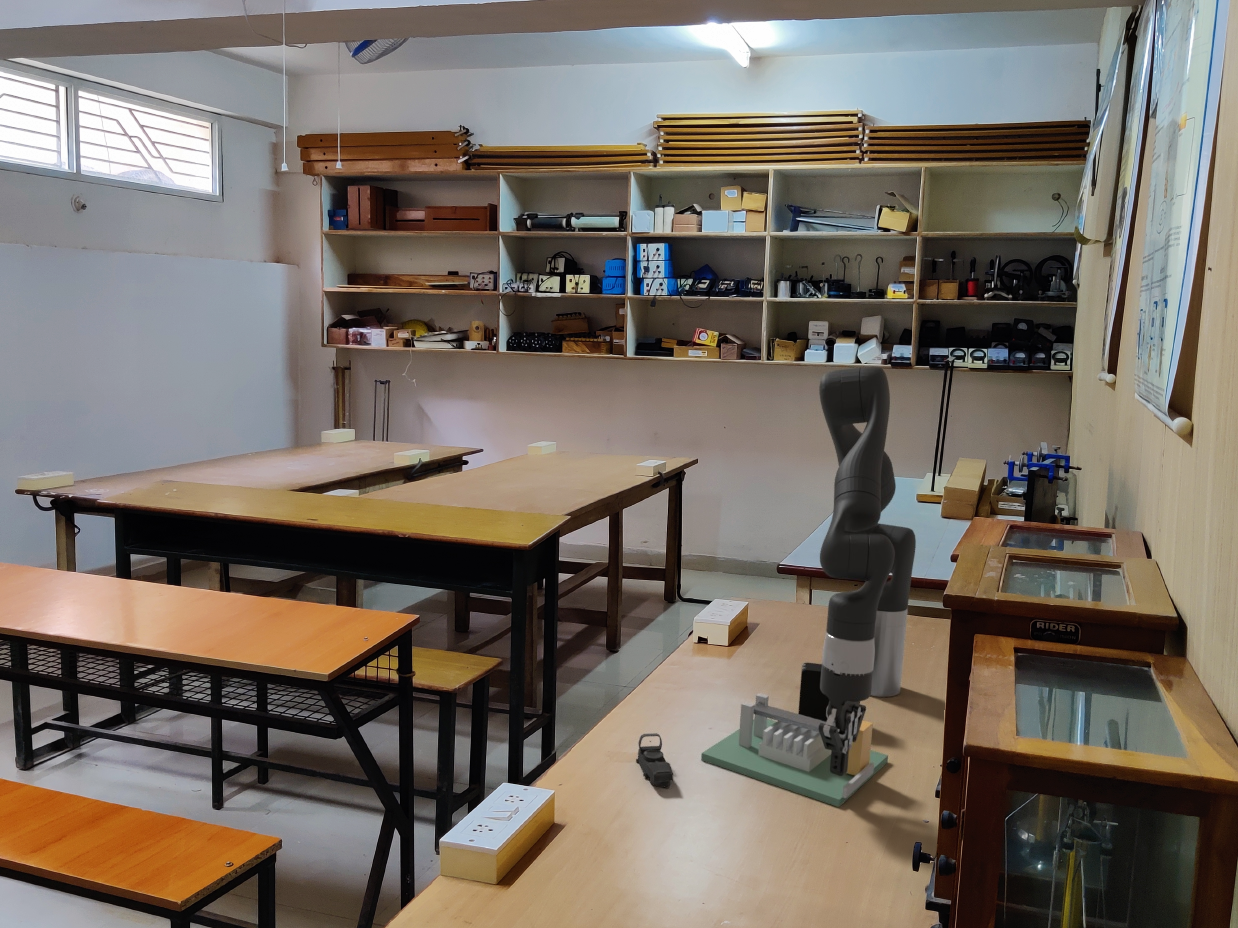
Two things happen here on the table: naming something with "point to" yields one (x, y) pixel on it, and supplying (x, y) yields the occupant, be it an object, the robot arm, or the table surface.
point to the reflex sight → (654, 763)
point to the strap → (787, 717)
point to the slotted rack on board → (787, 757)
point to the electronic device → (812, 693)
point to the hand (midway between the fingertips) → (838, 772)
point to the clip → (860, 749)
